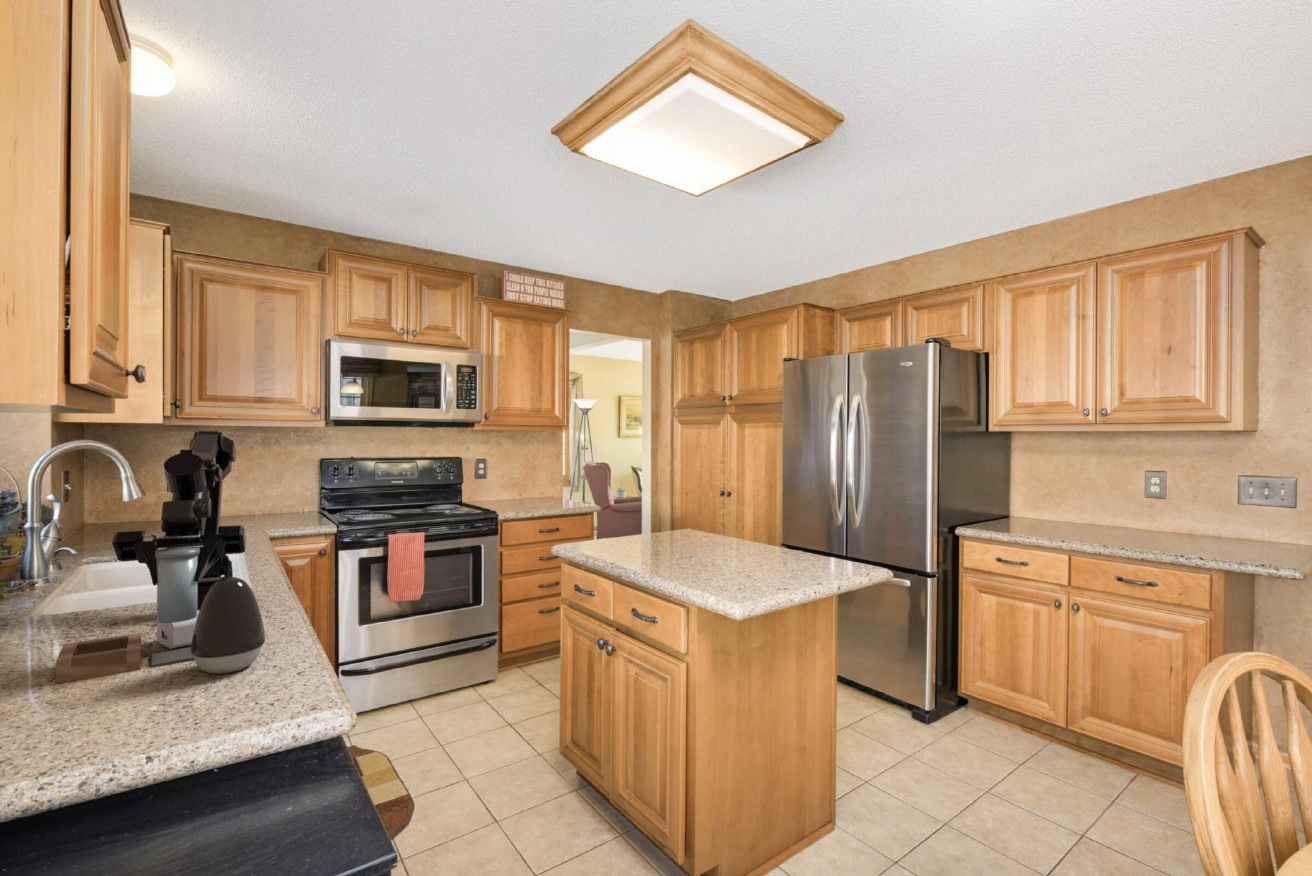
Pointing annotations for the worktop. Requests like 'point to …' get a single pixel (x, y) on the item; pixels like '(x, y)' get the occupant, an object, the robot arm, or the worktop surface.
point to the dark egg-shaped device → (228, 628)
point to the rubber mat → (171, 656)
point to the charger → (176, 633)
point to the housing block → (98, 658)
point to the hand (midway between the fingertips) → (176, 582)
